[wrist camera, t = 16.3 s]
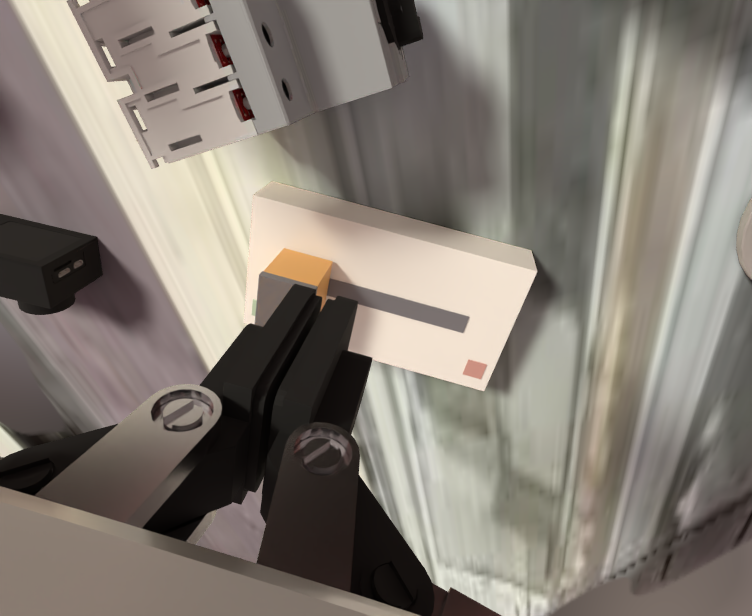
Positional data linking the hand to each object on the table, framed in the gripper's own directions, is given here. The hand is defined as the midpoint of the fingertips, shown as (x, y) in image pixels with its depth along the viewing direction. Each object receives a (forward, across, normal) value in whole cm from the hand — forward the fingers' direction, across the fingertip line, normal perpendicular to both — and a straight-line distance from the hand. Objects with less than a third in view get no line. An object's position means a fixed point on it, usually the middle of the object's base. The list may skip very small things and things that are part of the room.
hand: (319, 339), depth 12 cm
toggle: (+23, +6, +12) cm, 26 cm away
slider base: (+27, 0, +12) cm, 30 cm away
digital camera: (+27, +33, +19) cm, 47 cm away
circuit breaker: (+27, +8, -5) cm, 29 cm away
